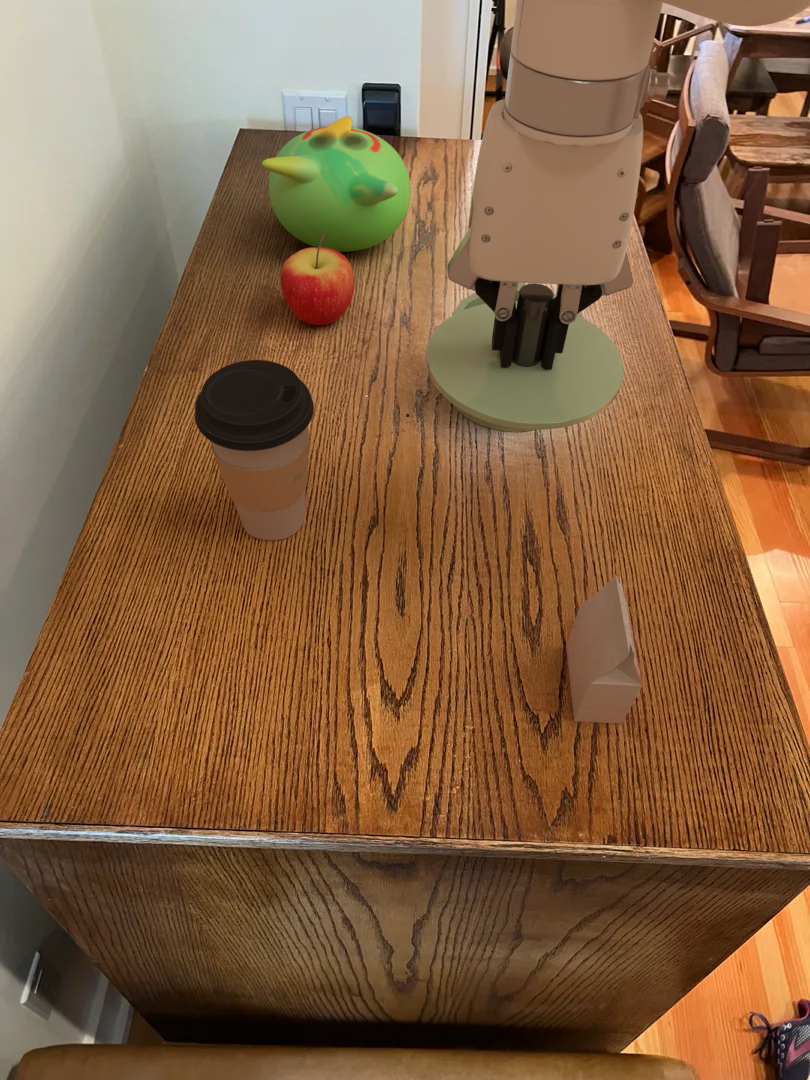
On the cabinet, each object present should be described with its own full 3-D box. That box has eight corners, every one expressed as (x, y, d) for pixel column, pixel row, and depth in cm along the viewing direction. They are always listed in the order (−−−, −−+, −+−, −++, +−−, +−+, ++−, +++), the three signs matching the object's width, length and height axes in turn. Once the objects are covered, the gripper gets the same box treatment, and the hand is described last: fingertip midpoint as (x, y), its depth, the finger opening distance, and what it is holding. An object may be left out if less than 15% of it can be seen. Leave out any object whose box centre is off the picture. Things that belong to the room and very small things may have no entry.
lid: (606, 317, 63) (626, 242, 58) (633, 441, 54) (660, 363, 49) (427, 309, 63) (432, 233, 58) (423, 431, 54) (428, 353, 49)
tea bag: (574, 721, 59) (603, 653, 51) (565, 646, 63) (591, 573, 56) (622, 723, 59) (658, 656, 51) (610, 648, 63) (642, 575, 56)
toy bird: (414, 216, 108) (418, 104, 96) (401, 283, 97) (404, 165, 86) (287, 207, 109) (277, 94, 97) (261, 272, 98) (245, 154, 86)
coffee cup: (336, 540, 70) (327, 414, 58) (234, 569, 68) (204, 444, 56) (306, 470, 75) (292, 343, 64) (211, 495, 73) (179, 367, 62)
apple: (368, 311, 93) (367, 233, 85) (326, 346, 88) (320, 267, 81) (314, 289, 96) (308, 212, 88) (270, 322, 91) (260, 243, 83)
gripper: (700, 73, 46) (624, 332, 60) (431, 61, 46) (419, 323, 60) (729, 126, 41) (639, 394, 55) (429, 113, 41) (416, 384, 55)
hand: (525, 355), depth 58 cm, fingers closed on lid, 2 cm apart
